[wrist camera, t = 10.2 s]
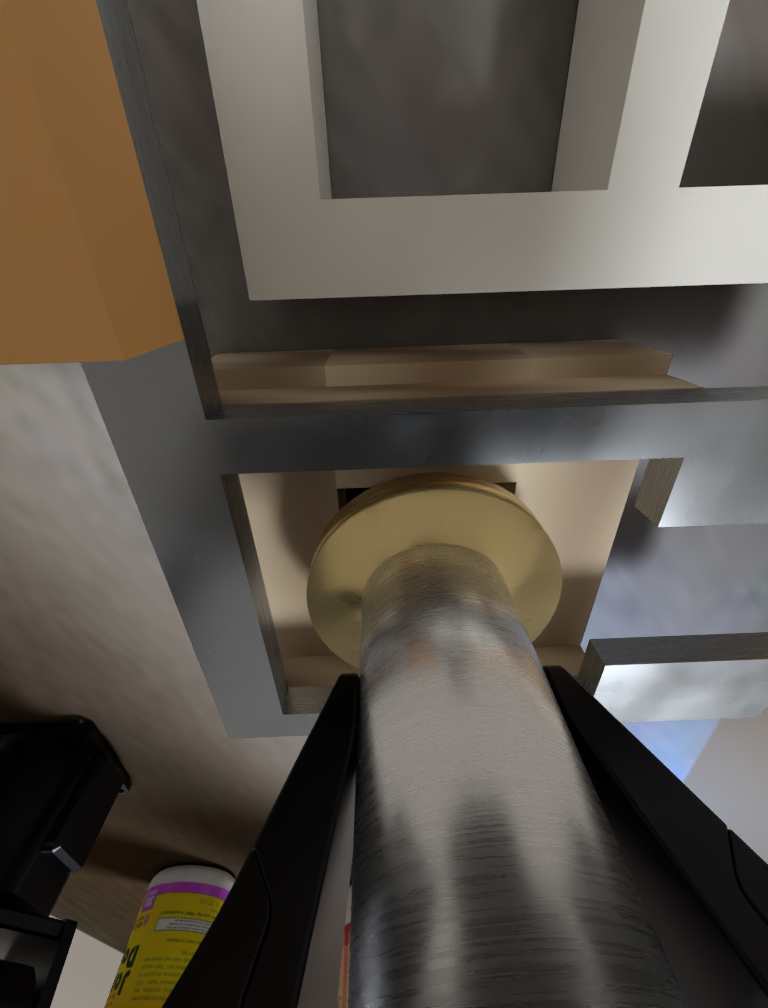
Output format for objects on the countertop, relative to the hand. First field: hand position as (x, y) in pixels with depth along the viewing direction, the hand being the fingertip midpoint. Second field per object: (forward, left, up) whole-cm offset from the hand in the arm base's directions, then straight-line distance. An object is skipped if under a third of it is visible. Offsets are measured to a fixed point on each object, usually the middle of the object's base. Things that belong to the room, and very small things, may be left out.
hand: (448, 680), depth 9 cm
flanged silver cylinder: (0, 0, -6) cm, 6 cm away
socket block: (0, 0, -7) cm, 7 cm away
